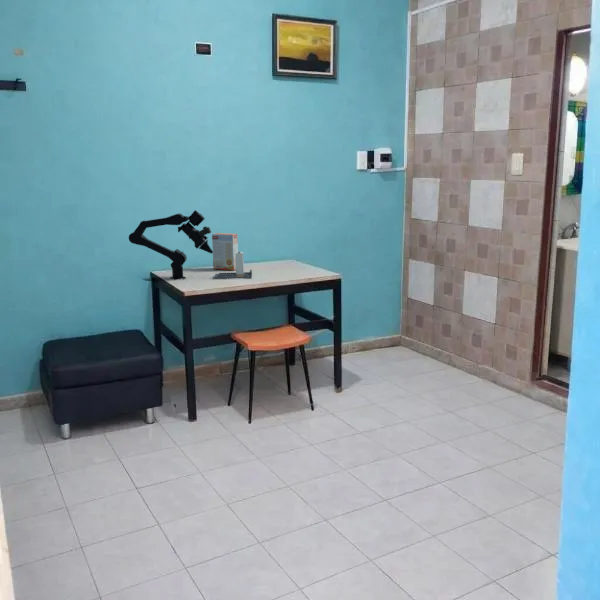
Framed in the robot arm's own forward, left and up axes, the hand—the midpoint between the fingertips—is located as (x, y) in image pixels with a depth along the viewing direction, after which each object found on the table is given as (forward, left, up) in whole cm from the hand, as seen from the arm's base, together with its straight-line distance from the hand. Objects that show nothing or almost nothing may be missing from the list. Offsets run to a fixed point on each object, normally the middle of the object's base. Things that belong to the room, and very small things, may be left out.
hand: (212, 253), depth 349 cm
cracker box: (-20, +18, -14) cm, 30 cm away
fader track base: (+5, +10, -13) cm, 17 cm away
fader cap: (+7, +13, -12) cm, 19 cm away
